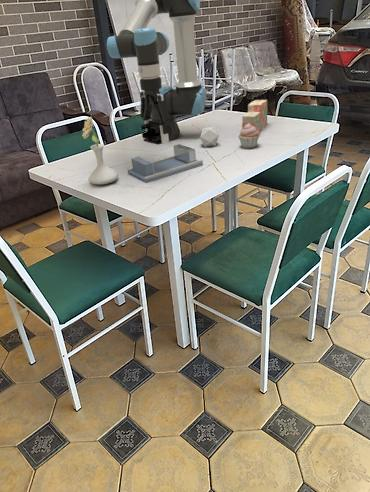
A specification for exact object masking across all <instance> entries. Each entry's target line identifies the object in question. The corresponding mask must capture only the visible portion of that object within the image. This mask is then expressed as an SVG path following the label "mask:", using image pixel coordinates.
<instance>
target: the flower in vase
mask: <svg viewBox="0 0 370 492" xmlns="http://www.w3.org/2000/svg"><path fill="white" fill-rule="evenodd" d="M93 125H94V122H93V117H92V116H90V117H89V116H88V117H87V118H86V120H84V125H83V126H84V127H83V128H82V138H83V139H84V140H86V139H87V138H88V137H89V136H90V134H91V132H92V133H93V134H92V137H91V140H92V141H93V142H94V143H95V144H92V145H90V149H91V150H93V153H94V155H95V159H96V163H97V165H96V167H95V168H94V170H93V171H92V172H91V173H90V174H89V176H88V182H89V183H90V184H93V185H97V186H98V185H107V184H110V183H112V182H115V181H116V180H117V179H118V178H119V174H118V172H117V171H116V170H114V169H112V168H111V167H108V166H107V165H106V164H105V162H104V159H103V151H104V147H105V144H102V143H99V142H100V139H99V138H98V136H97V134H96V132H94V130H93Z"/></svg>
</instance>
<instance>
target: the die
mask: <svg viewBox="0 0 370 492" xmlns="http://www.w3.org/2000/svg"><path fill="white" fill-rule="evenodd" d="M216 129H217V128H216V127H215V126H209V127H203V128H202V130H201V134H200V137H199V139H200V141H201V143H202V145H203V147H204V148H206V147H215V146H217V143H218V140H219V137H220V135H219V133H218V131H217V130H216Z"/></svg>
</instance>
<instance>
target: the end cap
mask: <svg viewBox="0 0 370 492" xmlns="http://www.w3.org/2000/svg"><path fill="white" fill-rule="evenodd" d="M148 122H149V123H147V124H145V123H144V124H141V126H140V129H141V131H143V130H146V129H148V131H147V132H146V131H145V132H142V133H141V136H142V138H143V142H146V143H149V144H154V145H156V146H157V145H161V144H163V143H162V141H161V133H160V124H161V123H160V122H156V121H148ZM167 127H168V137H169V138H170V137H171V135H172V128H171V126H170V125H169V124H167Z"/></svg>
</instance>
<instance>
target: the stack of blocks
mask: <svg viewBox="0 0 370 492" xmlns="http://www.w3.org/2000/svg"><path fill="white" fill-rule="evenodd" d="M241 117H242V118H241V119H242V121H241V122H242V123H241V128H242V129H243V128H244V126H245V125H247V124H248V123H250V125H252V126H254V127H255V128H256V130H258V134H259V133H260V132H261V131H262V130H263V129H265V127H266V126H268V99H255V100H253V101H251V102H249V103H248V104H247V112H246V113H244V114H243V115H242V116H241ZM242 129H241V130H242Z"/></svg>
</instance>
